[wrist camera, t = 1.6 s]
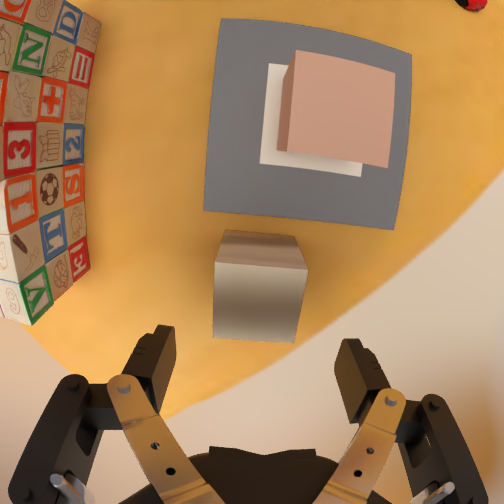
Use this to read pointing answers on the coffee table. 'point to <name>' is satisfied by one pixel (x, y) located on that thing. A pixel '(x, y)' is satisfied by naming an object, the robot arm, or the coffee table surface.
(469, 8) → the race car
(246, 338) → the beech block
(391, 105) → the block
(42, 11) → the stack of blocks
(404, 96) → the board
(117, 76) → the coffee table surface
